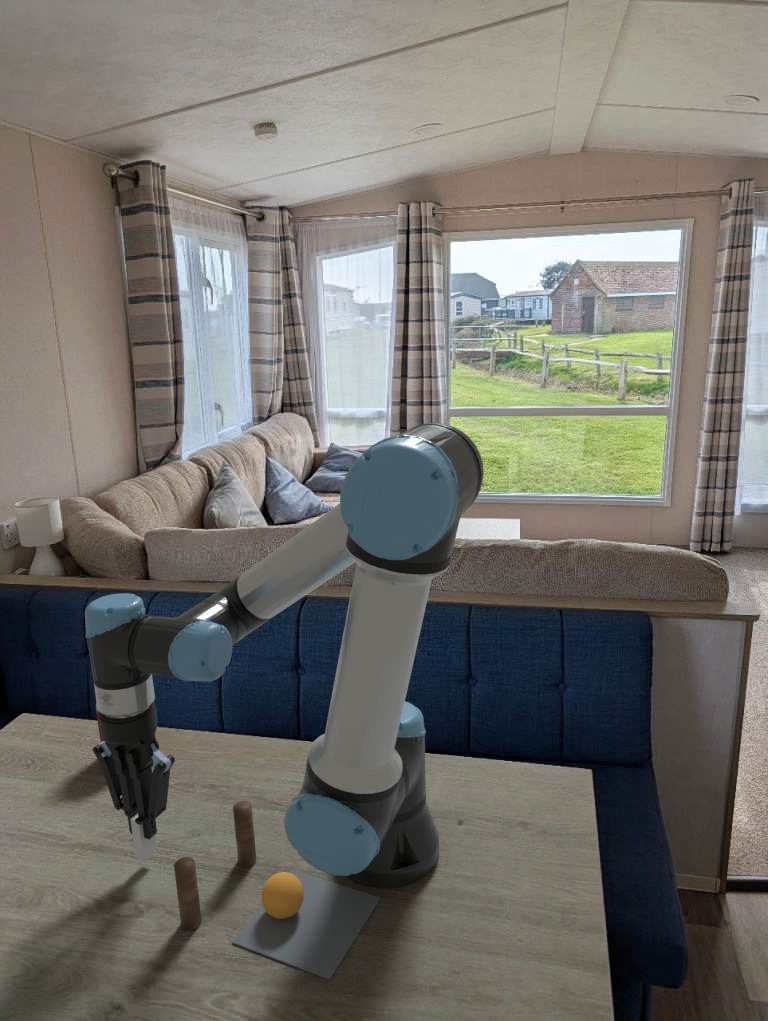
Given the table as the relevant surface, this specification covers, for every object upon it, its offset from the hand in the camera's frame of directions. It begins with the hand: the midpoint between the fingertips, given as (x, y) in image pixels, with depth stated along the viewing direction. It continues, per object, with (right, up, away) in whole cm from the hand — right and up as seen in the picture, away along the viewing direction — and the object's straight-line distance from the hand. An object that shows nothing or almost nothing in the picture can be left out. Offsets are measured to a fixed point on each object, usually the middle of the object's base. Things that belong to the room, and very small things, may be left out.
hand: (146, 853), depth 109 cm
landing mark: (+24, -4, -11) cm, 27 cm away
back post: (+14, -1, +1) cm, 15 cm away
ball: (+21, -1, -10) cm, 23 cm away
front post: (+9, -4, -10) cm, 15 cm away
